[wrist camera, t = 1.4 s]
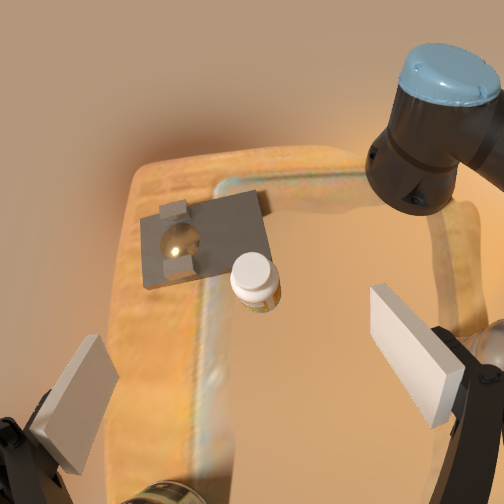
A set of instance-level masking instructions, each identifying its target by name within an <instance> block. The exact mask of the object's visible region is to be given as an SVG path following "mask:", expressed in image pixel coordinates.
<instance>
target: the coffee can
mask: <svg viewBox="0 0 504 504" xmlns="http://www.w3.org/2000/svg"><path fill="white" fill-rule="evenodd" d="M121 504H207V503H206V502H205V500H204V499H203V498H202V497H201V496H200V495H199V494H198V493H197V492H196V491H194V490H193V489H191V488H190V487H188V486H186V485H184V484H181V483H178V482H174V481H159V482H155V483H153V484H151V485H149V486H148V487H147V488H146V489H144V490H143V491H141V492H140V493H138V494H136V495H135V496H133V497H132V498H130V499H128V500H127V501H125V502H123V503H121Z"/></svg>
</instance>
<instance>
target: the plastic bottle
mask: <svg viewBox="0 0 504 504" xmlns="http://www.w3.org/2000/svg"><path fill="white" fill-rule="evenodd" d="M457 339H458V340H459V341H460V342H461V343H462V345H464V346H465V347H466V348H467V349H468V350H469V351H470V352H471V353H472V354H473V356H474V357H475V358H476V359H477V360H478V361H479V362H480V363H481V364H492V365H495V366H497V367H499V368H500V369H501V370H502V371H504V319H501V320H498V321H496V322H494V323H492V324H490V325H489V326H487V327H486V328H484V329H483V330H481V331H480V332H478V333H475V334H473V335H471V336H467V337H456V340H457Z"/></svg>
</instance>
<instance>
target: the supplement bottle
mask: <svg viewBox="0 0 504 504" xmlns="http://www.w3.org/2000/svg"><path fill="white" fill-rule="evenodd" d="M231 286H232V288H233V290H234V292H235V294H236V295H237V297H238V298H239V300H240V301H241V302H242V304H243V305H244V306H245V308H247V309H248V310H249V311H251V312H254V313H266V312H269V311H271V310H272V309H274V308H275V307H276V306H277V304H278V302H279V301H280V297H281V287H280V280H279V275H278V271H277V268H276V267H275V265H274V264H273V263H272V262H271V261H270V260H269V259H267V258H266V257H265V256H263V255H262V254H260V253H256V252H248V253H245V254H243V255H241V256H240V257H239V258H238V259H237V260H236V261H235V263H234V265H233V269H232V273H231Z"/></svg>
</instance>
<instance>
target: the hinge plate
mask: <svg viewBox="0 0 504 504" xmlns="http://www.w3.org/2000/svg"><path fill="white" fill-rule="evenodd" d="M159 209H160V214H156V215H152V216H149V217H145V218H141V219H140V229H141V256H142V275H143V287H144V288H145V289H147V290H151V289H156V288H160V287H165V286H170V285H175V284H179V283H184V282H189V281H193V280H198V279H203V278H207V277H212V276H216V275H221V274H226V273H230V272H232V269H233V265H234V263H235V261H236V260H237V259H238V258H239V257H240V256H241V255H243V254H245V253H248V252H256V253H260V254H262V255H263V256H265V257H266V258H267V259H269V260H270V261H271V262H272V257H271V253H270V248H269V244H268V240H267V235H266V231H265V227H264V222H263V218H262V214H261V210H260V206H259V201H258V197H257V193H256V190H253V191H248V192H244V193H239V194H235V195H231V196H227V197H222V198H218V199H214V200H210V201H206V202H202V203H198V204H194V205H190V206H189V205H188V203H187V201H186V200H185V199H184V200H181V201H177V202H173V203H169V204H166V205H162V206H159ZM272 263H273V262H272Z"/></svg>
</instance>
